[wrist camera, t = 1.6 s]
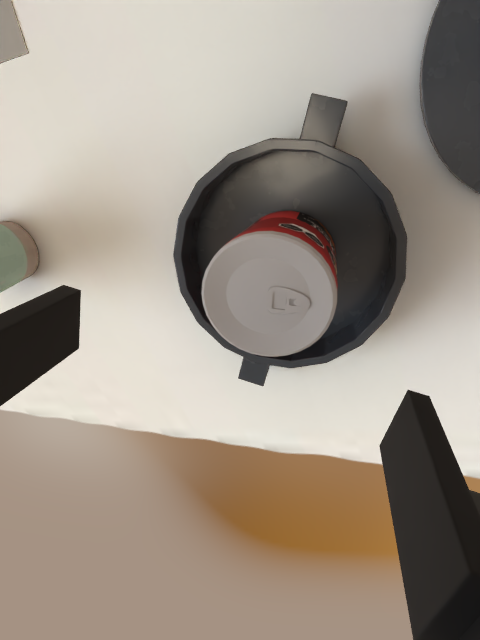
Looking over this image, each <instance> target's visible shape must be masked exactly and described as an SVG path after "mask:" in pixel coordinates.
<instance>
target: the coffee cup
mask: <svg viewBox="0 0 480 640" xmlns="http://www.w3.org/2000/svg"><path fill="white" fill-rule="evenodd" d="M38 262H39V255H38V250H37V247H36V244H35V242H34V240H33V239H32V237H31V236H30V235H29V233H28V232H27V231H26V230H25V229H23V228H22V227H21V226H19V225H17V224H15V223H13V222H8V221H0V292H2V291H4V290H6V289H8V288H9V287H11V286H13V285H15V284H17V283H18V282H20V281H22V280H24V279H25V278H27V277H29V276H31V275H32V274H33V273H34V272H35V271H36V269H37V267H38Z"/></svg>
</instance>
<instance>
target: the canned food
mask: <svg viewBox="0 0 480 640" xmlns="http://www.w3.org/2000/svg"><path fill="white" fill-rule="evenodd" d="M337 287H338V284H337V263H336V251H335V246H334V242H333V240H332V238H331V235H330V234H329V233H328V231H327V230H326V228H325V227H324V226H323V225H322V224H321V223H319V222H318V221H317V220H316V219H314V218H312V217H311V216H309V215H306V214H303V213H300V212H295V211H278V212H274V213H270V214H268V215H266V216H264V217H261V218H260V219H259V220H257V221H256V222H255V223H253V224H252V225H251V226H249V227H248V228H246V229H245V230H244V231H242V232H241V233H240V234H238V235H237V236H236V237H234V238H233V239H232V240H230V241H229V242H228V243H226V244H225V245H224V246H223V247H222V248H221V249H220V250H219V251H218V252H217V253H216V254H215V256H214V257H213V259H212V260H211V262H210V263H209V265H208V267H207V269H206V271H205V274H204V278H203V281H202V292H201V293H202V301H203V306H204V309H205V312H206V315H207V317H208V319H209V321H210V322H211V324H212V326H213V327H214V328H215V330H216V331H217V332H218V333H219V334H220V335H221V336H222V337H223V338H224V339H225V340H226V341H228V342H229V343H230V344H232V345H234V346H235V347H237V348H239V349H241V350H243V351H246V352H248V353H251V354H255V355H260V356H270V357H278V356H286V355H290V354H294V353H297V352H300V351H302V350H304V349H306V348H307V347H309V346H311V345H312V344H313V343H315V342H316V341H317V340H318V339H320V337H321V336H322V335H323V334H324V333H325V331H326V330H327V329H328V327H329V325H330V323H331V321H332V319H333V316H334V313H335V309H336V305H337Z"/></svg>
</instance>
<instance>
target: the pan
mask: <svg viewBox="0 0 480 640" xmlns="http://www.w3.org/2000/svg"><path fill="white" fill-rule="evenodd" d="M347 103H348V102H347V101H345V100H341V99H336V98H332V97H327V96H322V95H318V94H313V93H312V94H311V97H310V101H309V105H308V109H307V113H306V117H305V120H304V124H303V128H302V132H301V136H300V139H279V138H272V139H271V138H270V139H267V140H265V141H262V142H259V143H256V144H254V145H251V146H248V147H245V148H243V149H240V150H237V151H234V152H232V153H229V154H228V155H227V156H226V157H225V158H223V159H222V160H221V161H220V162H219V163H218V164H217V165H216V166H214V167H213V168H212V169H211V170H210V171H209V172H208V173H207V174H205V175H204V176H203V177H202V178H201V179H200V180H199V181H198V182H197V183H196V185H195V187H194V189H193V191H192V193H191V194H190V196H189V198H188V200H187V202H186V204H185V206H184V208H183V210H182V212H181V213H180V215H179V218H178V225H177V232H176V239H175V247H174V254H173V255H174V261H175V267H176V272H177V277H178V282H179V287H180V291H181V294H182V296H183V297H184V299H185V301H186V303H187V304H188V306H189V308H190V310H191V312H192V313H193V315H194V317H195V319H196V321H197V322H198V323H199V324H200V325H201V326H202V327H203V328H204V329H205V330H206V331H207V332H208V333H209V334H210V335H211V336H213V337H214V338H215V339H216V340H217V341H218V342H219V343H220V344H221V345H222V346H223V347H224V348H226V349H228V350H230V351H233V352H235V353H237V354H239V355H241V356H243V361H242V365H241V369H240V373H239V377H238V378H239V379H242V380H245V381H248V382H251V383H254V384H257V385H261V386H264V383H265V379H266V376H267V373H268V369H269V366H270V365H273V366H280V367H286V368H296V367H302V366H309V365H315V364H322V363H327V362H329V361H331V360H333V359H335V358H337V357H339V356H341V355H343V354H345V353H347V352H349V351H351V350H353V349H355V348H357V347H359V346H361V345H362V344H363V343H364V342H365V341H366V340H367V339H368V338H369V337H370V336H371V335H372V334H373V333H374V332H375V331H376V330H377V329H378V328H379V326H380V325H381V324H382V323H383V322H384V321H385V320H386V319H387V318H388V316H389V315H390V313H391V311H392V308H393V306H394V304H395V301H396V299H397V297H398V295H399V292H400V290H401V288H402V285H403V283H404V281H405V276H406V250H407V236H406V235H407V234H406V232H405V229H404V226H403V223H402V221H401V218H400V215H399V213H398V210H397V207H396V204H395V202H394V199H393V196H392V194H391V192H390V191H389V190H388V189H387V188H386V187H385V186H384V185H383V184H382V183H381V181H380V180H379V179H378V178H377V177H376V176H375V175H374V174H373V173H372V172H371V171H370V170H369V168H368V167H367V166H366V165H365V164H364V163H363V162H362V161H361V160H359V159H358V158H356V157H354V156H352V155H349V154H347V153H345V152H343V151H341V150H338V149H336V148H334V147H335V144H336V140H337V137H338V134H339V130H340V127H341V123H342V120H343V117H344V113H345V110H346V107H347ZM278 211H295V212H300V213H303V214H306V215H309V216H311V217H312V218H314V219H316V220H317V221H318V222H319V223H321V224H322V225H323V226H324V227H325V228H326V230H327V231H328V233H329V234H330V235H331V238H332V240H333V242H334V246H335V251H336V263H337V284H338V287H337V305H336V309H335V313H334V316H333V319H332V321H331V323H330V325H329V327H328V329H327V330H326V331H325V333H324V334H323V335H322V336H321V337H320V339H318V340H317V341H316V342H315V343H313V344H312V345H311V346H309V347H307V348H306V349H304V350H302V351H300V352H297V353H294V354H290V355H286V356H278V357H270V356H260V355H255V354H251V353H248V352H246V351H243V350H241V349H239V348H237V347H235V346H234V345H232V344H230V343H229V342H228V341H226V340H225V339H224V338H223V337H222V336H221V335H220V334H219V333H218V332H217V331H216V330H215V328H214V327H213V326H212V324H211V322H210V321H209V319H208V317H207V315H206V312H205V309H204V306H203V301H202V293H201V292H202V281H203V278H204V274H205V271H206V269H207V267H208V265H209V263H210V262H211V260H212V259H213V257H214V256H215V254H216V253H217V252H218V251H219V250H220V249H221V248H222V247H223V246H224V245H225V244H226V243H228V242H229V241H230V240H232V239H233V238H234V237H236V236H237V235H238V234H240V233H241V232H242V231H244V230H245V229H246V228H248V227H249V226H251V225H252V224H253V223H255V222H256V221H257V220H259V219H260V218H261V217H264V216H266V215H268V214H270V213H274V212H278Z"/></svg>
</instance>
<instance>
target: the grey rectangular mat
mask: <svg viewBox="0 0 480 640" xmlns="http://www.w3.org/2000/svg"><path fill="white" fill-rule="evenodd" d="M27 53H28V51H27V48H26V45H25V42H24V39H23V36H22V33H21V30H20V27H19V24H18V21H17V18H16V15H15V12H14V9H13V5H12V2H11V0H0V63H2V62H5V61H8V60H10V59H13V58H16V57H19V56H21V55H24V54H27Z"/></svg>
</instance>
